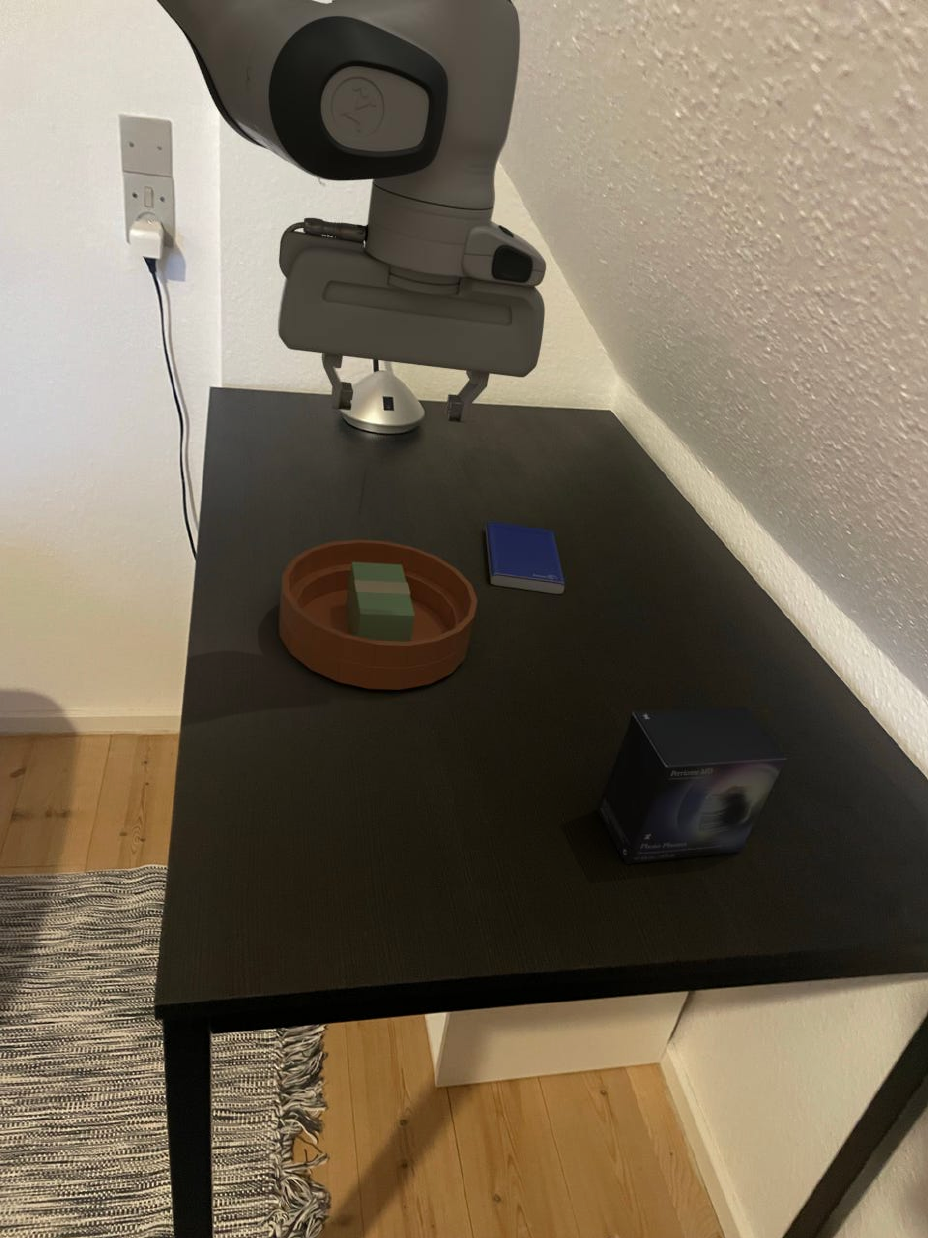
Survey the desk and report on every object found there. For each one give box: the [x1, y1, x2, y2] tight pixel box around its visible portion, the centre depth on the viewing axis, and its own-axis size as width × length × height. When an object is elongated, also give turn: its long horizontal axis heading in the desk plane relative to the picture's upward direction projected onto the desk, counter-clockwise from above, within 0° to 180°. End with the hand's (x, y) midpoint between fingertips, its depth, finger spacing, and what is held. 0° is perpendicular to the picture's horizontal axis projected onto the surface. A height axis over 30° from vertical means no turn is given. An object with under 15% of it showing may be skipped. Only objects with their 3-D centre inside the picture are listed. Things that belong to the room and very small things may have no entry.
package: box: [346, 562, 415, 642], centre depth 90 cm, size 5×9×5 cm, turn 10°
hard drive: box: [485, 521, 566, 595], centre depth 109 cm, size 2×8×12 cm
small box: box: [595, 705, 787, 865], centre depth 73 cm, size 11×6×10 cm, turn 105°
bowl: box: [278, 538, 478, 691], centre depth 90 cm, size 18×18×6 cm
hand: (398, 413), depth 76 cm, fingers open, 8 cm apart
